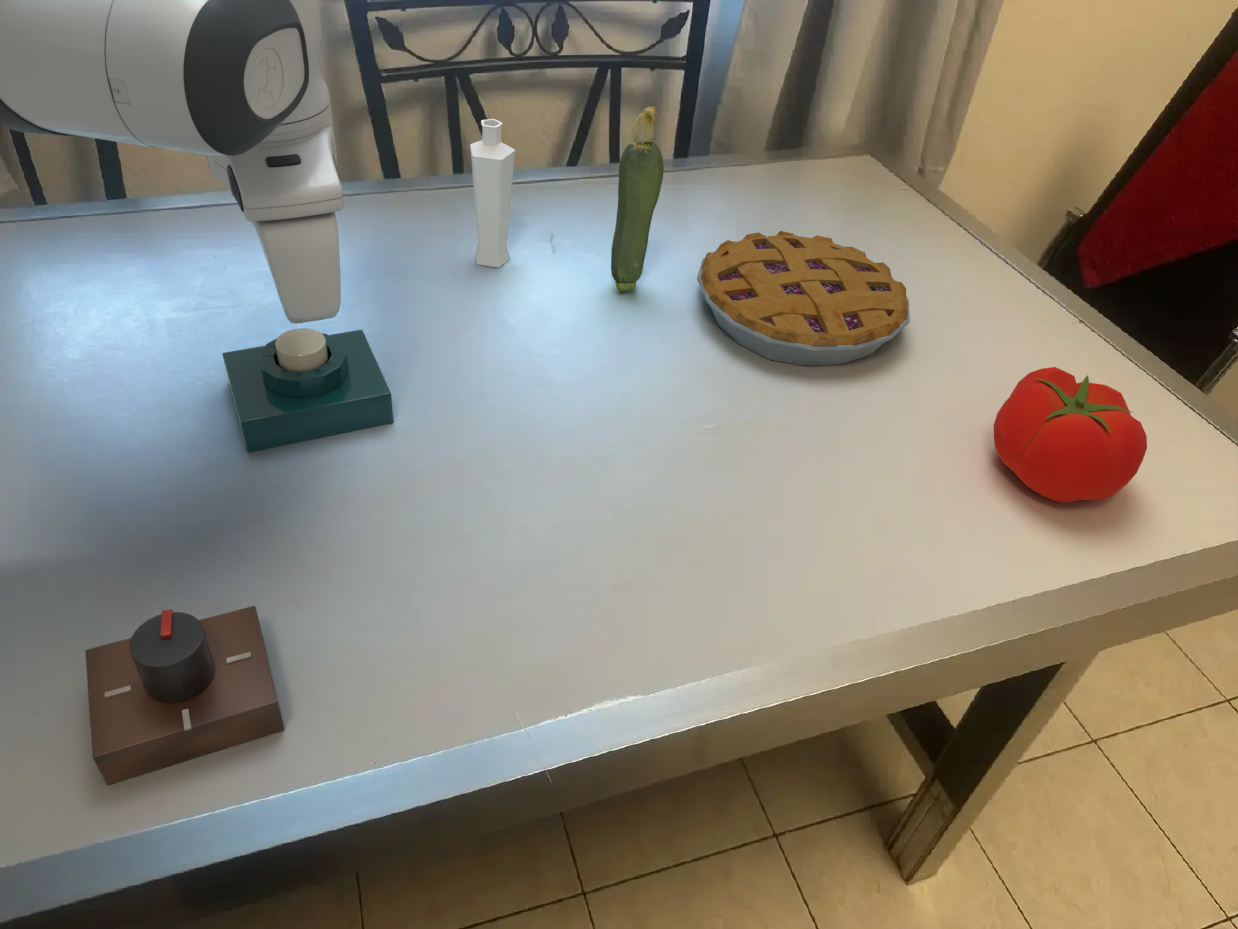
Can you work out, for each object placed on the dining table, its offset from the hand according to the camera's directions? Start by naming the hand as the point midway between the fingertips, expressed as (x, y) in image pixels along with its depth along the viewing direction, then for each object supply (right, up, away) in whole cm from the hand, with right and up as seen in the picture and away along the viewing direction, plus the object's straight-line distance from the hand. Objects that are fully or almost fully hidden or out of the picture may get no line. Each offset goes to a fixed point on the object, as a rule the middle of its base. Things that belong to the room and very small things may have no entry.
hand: (298, 308), depth 76 cm
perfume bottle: (+12, +10, +27) cm, 31 cm away
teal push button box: (-1, -7, +6) cm, 10 cm away
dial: (-1, -25, -19) cm, 32 cm away
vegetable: (+27, +6, +25) cm, 37 cm away
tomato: (+64, -13, +8) cm, 66 cm away
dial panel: (-1, -28, -17) cm, 32 cm away
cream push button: (-1, -4, +3) cm, 5 cm away
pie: (+44, +3, +24) cm, 51 cm away
